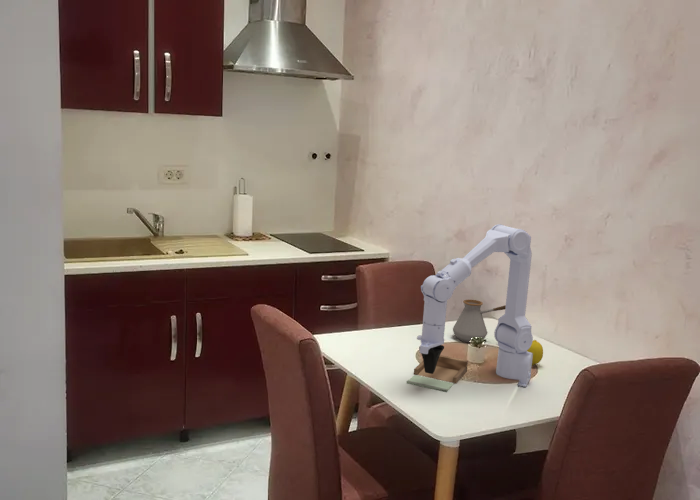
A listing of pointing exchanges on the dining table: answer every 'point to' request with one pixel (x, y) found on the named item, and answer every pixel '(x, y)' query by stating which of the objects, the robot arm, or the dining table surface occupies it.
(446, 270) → the robot arm
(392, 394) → the dining table surface
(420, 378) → the panel
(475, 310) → the coffee pot
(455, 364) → the tray
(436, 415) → the dining table surface
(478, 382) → the dining table surface
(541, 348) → the lemon
